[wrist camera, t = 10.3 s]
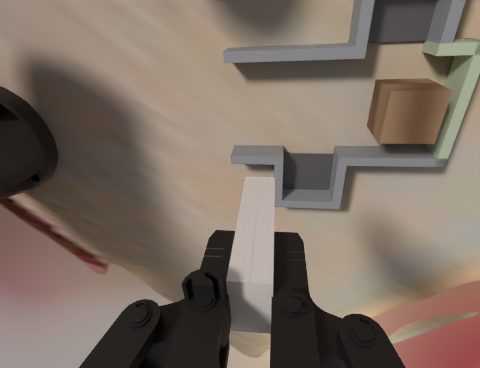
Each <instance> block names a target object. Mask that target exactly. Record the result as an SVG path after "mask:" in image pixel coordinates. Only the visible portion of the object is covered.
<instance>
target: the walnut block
mask: <svg viewBox="0 0 480 368" xmlns="http://www.w3.org/2000/svg"><path fill="white" fill-rule="evenodd" d="M452 91H453V90H451V89H449V88H447V87H445V86H442V85H440V84H438V83H436V82H434V81H432V80H430V79H384V80H376V82H375V87H374V92H373V97H372V102H371V107H370V112H369V118H368V123H367V127H368V128H369V130H370V131H371V132H372V134H373V135H374V137H375V138H376V139H377V141H378V142H379V144H435V141H436V138H437V135H438V132H439V129H440V127H441V124H442V121H443V118H444V115H445V112H446V109H447V106H448V103H449V100H450V97H451V94H452Z"/></svg>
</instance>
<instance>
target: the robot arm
mask: <svg viewBox="0 0 480 368" xmlns="http://www.w3.org/2000/svg"><path fill="white" fill-rule="evenodd" d="M56 164H57V151H56V147H55V143H54V140H53V138H52V136H51V134H50V132H49V130H48V128H47V127H46V125H45V124H44V122H43V121H42V119H41V118H40V117H39V116H38V114H37V113H36V112H35V111H34V110H33V109H32V108H31V107H30V106H29V105H28V104H27V103H25V102H24V101H23V100H22V99H20V98H19V97H18V96H16V95H15V94H13V93H11V92H10V91H8V90H6V89H4V88H2V87H0V199H3V198H6V197H9V196H13V195H16V194H20V193H23V192H26V191H29V190H32V189H34V188H36V187H37V186H39V185H40V184H42V183H43V182H44V181H46V180H47V179H48V178H50V177H51V175H52V174H53V173H54V171H55V168H56ZM274 204H275V177H245V183H244V188H243V193H242V199H241V204H240V209H239V215H238V220H237V225H236V231H224V230H216V231H215V232H214V233H213V234H212V235H211V237H210V238H209V240H208V244H207V247H206V251H205V254H204V257H203V261H202V264H201V268H200V269H199V270H196V271H194V272H191V273H190V274H189V275H188V276H187V277H185V279H184V281H183V282H182V288H183V292H184V296H185V298H184V299H182V300H181V301H178V302H175V303H171V304H168V305H163V306H158V304H157V303H156V302H154V301H152V300H147V299H143V300H139V301H136V302H134V303H132V304H130V305H129V306H128V307H127V308H126V309H125V310H124V311H123V312H122V313H121V314H120V315H119V317H118V318H117V319H116V321H115V322H114V323H113V325H112V326H111V327H110V328H109V330H108V331H107V332H106V333H105V335H104V336H103V338H102V339H101V340H100V341H99V343H98V344H97V345H96V346H95V348H94V349H93V350H92V352H91V353H90V354H89V355H88V357H87V358H86V359H85V361H84V362H83V363H82V364H81V366H80V367H79V368H227V362H228V354H229V333H230V326H231V330H233V331H245V332H257V333H269V334H271V349H270V350H271V351H270V368H405V366H404V364H403V363H402V361H401V359H400V357H399V356H398V354H397V352H396V350H395V349H394V347H393V345H392V344H391V342H390V340H389V338H388V337H387V335H386V333H385V332H384V330H383V329H382V328H381V327H380V325H379V324H378V323H377V322H375V321H374V320H373V319H371V318H370V317H367V316H365V315H362V314H350V315H347V316H345V317H344V318H343V319H342V318H340V317H337V316H334V315H332V314H329V313H327V312H325V311H323V310H321V309H320V308H319V307H317V305H316V304H315V303H314V302H313V301H312V299H311V297H310V294H309V288H308V279H307V270H306V261H305V253H304V243H303V240H302V239H301V237H300V236H299V234H298V233H291V232H274Z"/></svg>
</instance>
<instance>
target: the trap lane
mask: <svg viewBox="0 0 480 368" xmlns="http://www.w3.org/2000/svg"><path fill="white" fill-rule="evenodd" d="M465 2H466V0H354V7H353V14H352V21H351V29H350V36H349V43H343V44H318V45H293V46H268V47H243V48H228V49H226V50H225V51H224V52H223V55H224V63H244V62H274V61H304V60H335V59H365V55H366V49H367V43H377V42H402V41H425V43H424V47H423V51H422V52H425V53H428V54H431V55H434V56H454V58H453V62H452V65H451V68H450V71H449V74H448V77H447V80H446V83H445V87H447V88H449V89H451V90H453V91H452V94H451V97H450V100H449V103H448V106H447V109H446V112H445V115H444V118H443V121H442V124H441V127H440V129H439V132H438V135H437V138H436V141H435V144H426V146H425V147H369V146H334V154H291V153H283V146H234V149H233V152H232V154H231V164H265V165H274V177H275V204H274V207H291V208H319V209H340V204H341V198H342V192H343V186H344V180H345V174H346V168H347V166H397V167H445V165H446V162H447V160H448V157H449V154H450V152H451V149H452V146H453V144H454V141H455V138H456V136H457V133H458V130H459V128H460V125H461V122H462V119H463V117H464V114H465V111H466V109H467V106H468V103H469V101H470V98H471V95H472V93H473V90H474V87H475V85H476V82H477V79H478V77H479V74H480V40H479V39H472V38H468V39H454V37H455V34H456V31H457V27H458V24H459V21H460V18H461V15H462V11H463V8H464V5H465Z"/></svg>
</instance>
